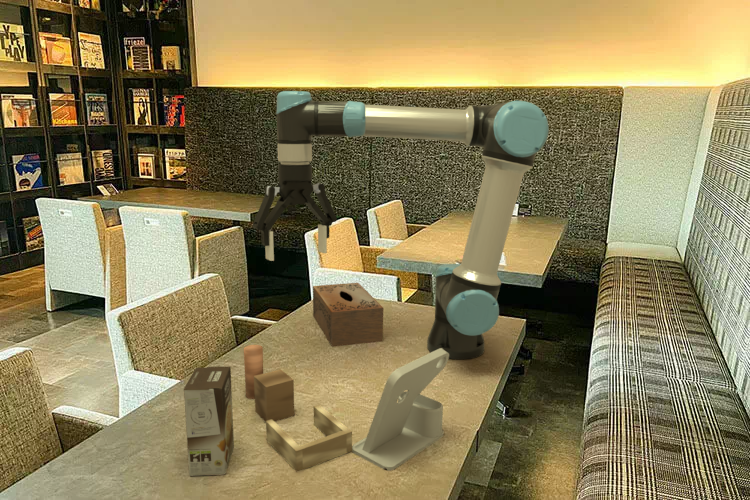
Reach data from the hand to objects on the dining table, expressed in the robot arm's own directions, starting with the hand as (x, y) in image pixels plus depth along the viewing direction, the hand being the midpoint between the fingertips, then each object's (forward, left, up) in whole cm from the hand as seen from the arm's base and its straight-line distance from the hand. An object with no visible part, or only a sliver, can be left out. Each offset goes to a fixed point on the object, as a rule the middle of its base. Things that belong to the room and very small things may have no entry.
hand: (296, 255), depth 132 cm
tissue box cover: (-15, -28, -29) cm, 43 cm away
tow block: (+8, +16, -29) cm, 34 cm away
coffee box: (+17, +35, -29) cm, 48 cm away
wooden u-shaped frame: (0, +32, -29) cm, 43 cm away
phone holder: (-17, +34, -29) cm, 48 cm away
